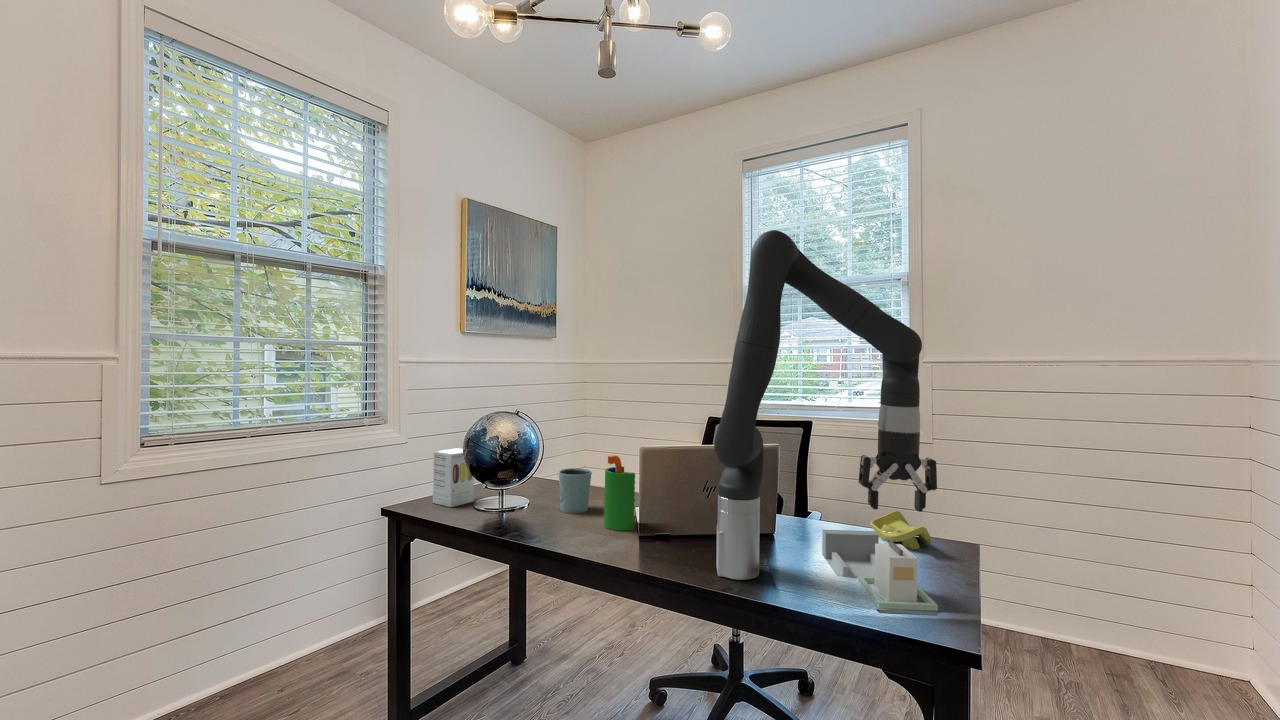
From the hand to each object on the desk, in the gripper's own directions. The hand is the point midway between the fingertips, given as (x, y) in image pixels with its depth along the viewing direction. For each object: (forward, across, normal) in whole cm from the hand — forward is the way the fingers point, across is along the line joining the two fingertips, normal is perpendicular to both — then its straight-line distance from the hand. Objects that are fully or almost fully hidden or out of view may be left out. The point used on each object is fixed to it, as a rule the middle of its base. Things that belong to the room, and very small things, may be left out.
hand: (896, 509), depth 110 cm
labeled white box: (+17, 0, 0) cm, 17 cm away
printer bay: (+18, -3, +14) cm, 23 cm away
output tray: (+18, 0, 0) cm, 18 cm away
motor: (+19, -60, +42) cm, 75 cm away
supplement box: (+20, -116, +60) cm, 132 cm away
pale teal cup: (+20, -75, +56) cm, 96 cm away
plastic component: (+18, +15, +35) cm, 43 cm away
